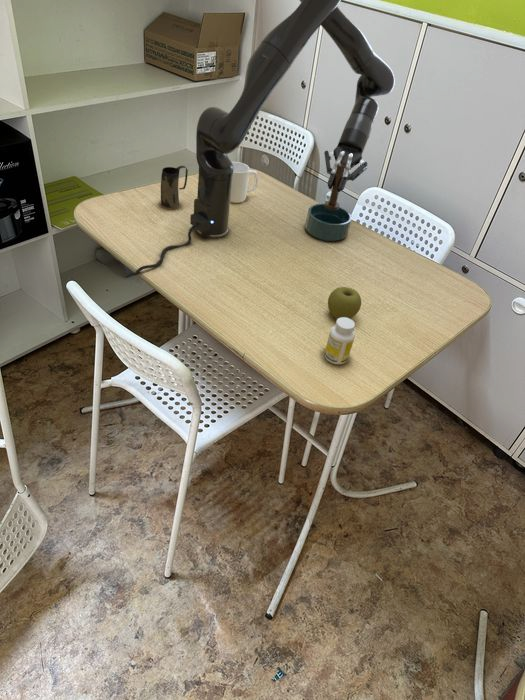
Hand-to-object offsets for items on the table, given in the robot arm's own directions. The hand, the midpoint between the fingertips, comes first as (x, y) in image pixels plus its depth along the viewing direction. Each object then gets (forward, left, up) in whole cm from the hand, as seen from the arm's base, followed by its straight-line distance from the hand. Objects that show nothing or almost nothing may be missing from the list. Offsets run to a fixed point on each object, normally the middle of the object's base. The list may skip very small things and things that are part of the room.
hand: (334, 189), depth 149 cm
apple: (-28, -29, -15) cm, 43 cm away
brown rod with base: (+2, +1, -6) cm, 7 cm away
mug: (-28, +38, -15) cm, 49 cm away
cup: (-6, +32, -15) cm, 36 cm away
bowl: (+2, +1, -15) cm, 15 cm away
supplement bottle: (-41, -38, -15) cm, 58 cm away
